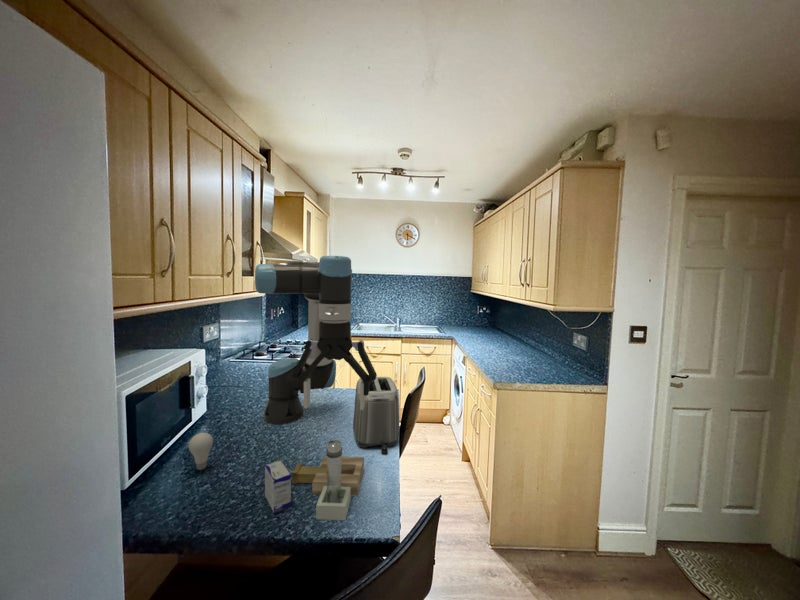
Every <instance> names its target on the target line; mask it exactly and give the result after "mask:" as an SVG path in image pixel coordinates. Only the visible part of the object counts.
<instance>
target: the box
mask: <svg viewBox="0 0 800 600" xmlns="http://www.w3.org/2000/svg"><path fill="white" fill-rule="evenodd" d="M264 497H265V499H266V501H267V503H268V505H269V506H270V508H271V510H272V512H273V514H276V513H279V512H282V511H283V510H285V509H288V508H289V507H291V506H292V473H291V472H290V471H289V469H288V467H287V466H286V464H284V462H283V460H278V461H274V462H272V463H268V464H266V465H264Z"/></svg>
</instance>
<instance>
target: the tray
mask: <svg viewBox="0 0 800 600" xmlns="http://www.w3.org/2000/svg"><path fill="white" fill-rule="evenodd" d="M351 500H352V496H351V487H341V503H327V486H324V487H323V490H322V492H321V495H319V497H318V500H317V503H316V506H315V511H316V512H315V513H316V514H315V519H316V520H321V521H322V520H323V521H324V520H326V521H327V520H328V521H346V520H347V515H348V512H349V508H350V504H351Z"/></svg>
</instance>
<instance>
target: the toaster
mask: <svg viewBox="0 0 800 600" xmlns="http://www.w3.org/2000/svg"><path fill="white" fill-rule="evenodd" d="M361 381H362V379H361V378H360V377H359V378H358V380H357V383H356V386H355V398H354V408H353V422H352V423H353V424H352V429H353V435H354V438H355V441H356V442H357V443H356V444H357V445H358V446H359V447H362V448H365V449H366V448H369V447H373V446H377V447H378V446H381V452H380V453H381V454H382V455H387V454H388V446H389V447H393V446H396V445H397V444H398V442H399V439H400V397H399V391H398V388H397V385H396V382H395V381H394V380H393V379H392V377H389V376H376V379H375V380H374V381H373V380H372V381H370V382H369V393H368V395H365V406H364V409H363V410H360V383H361Z"/></svg>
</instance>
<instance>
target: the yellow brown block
mask: <svg viewBox="0 0 800 600" xmlns="http://www.w3.org/2000/svg"><path fill="white" fill-rule="evenodd" d="M316 473H324V474H327V467H321V466H310V465H309V466H307V465H306V466H305V465H303V463H302V462H297V464H296V466H295V467H294V469H293V471H292V473H291V485H292V484H293V485H298V484H312V482H313V480H314V478H315V475H316Z"/></svg>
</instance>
